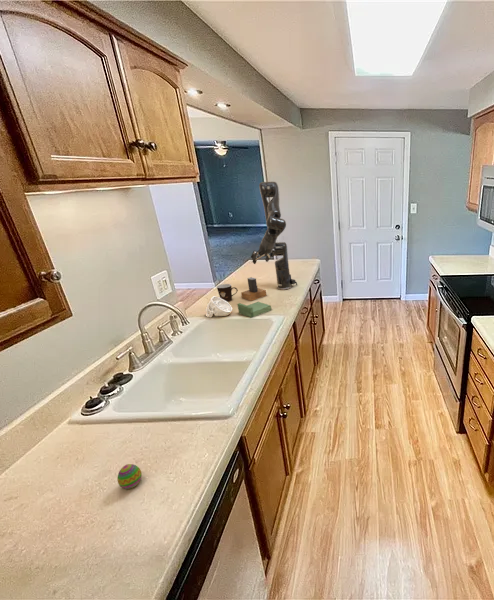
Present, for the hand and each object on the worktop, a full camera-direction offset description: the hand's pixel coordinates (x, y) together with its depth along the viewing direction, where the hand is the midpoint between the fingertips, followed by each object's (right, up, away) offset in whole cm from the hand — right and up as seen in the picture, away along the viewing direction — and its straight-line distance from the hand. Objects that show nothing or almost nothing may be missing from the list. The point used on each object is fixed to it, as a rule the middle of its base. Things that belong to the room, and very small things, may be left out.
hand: (260, 261), depth 206 cm
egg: (+12, -72, -120) cm, 141 cm away
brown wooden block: (-10, -22, +15) cm, 28 cm away
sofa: (+1, -31, -9) cm, 32 cm away
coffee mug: (-24, -25, +9) cm, 35 cm away
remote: (-10, -18, +14) cm, 25 cm away
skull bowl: (-19, -33, -14) cm, 40 cm away
